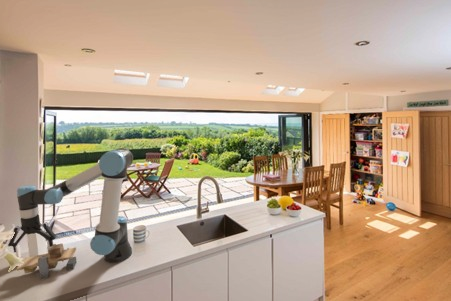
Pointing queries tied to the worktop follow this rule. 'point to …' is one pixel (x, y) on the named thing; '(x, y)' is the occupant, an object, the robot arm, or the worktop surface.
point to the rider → (56, 251)
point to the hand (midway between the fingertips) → (34, 254)
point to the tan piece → (32, 262)
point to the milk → (36, 244)
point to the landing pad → (71, 263)
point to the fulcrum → (43, 267)
